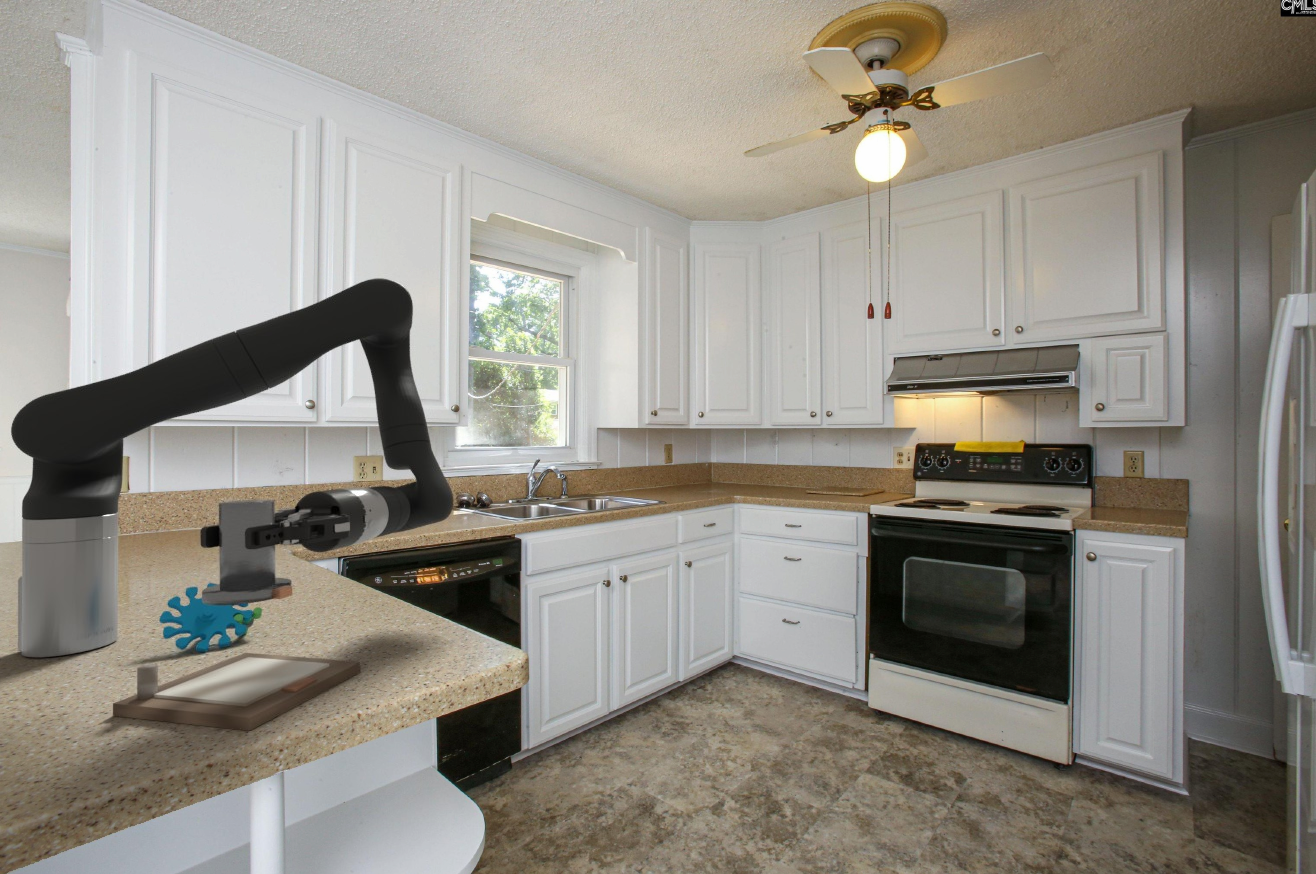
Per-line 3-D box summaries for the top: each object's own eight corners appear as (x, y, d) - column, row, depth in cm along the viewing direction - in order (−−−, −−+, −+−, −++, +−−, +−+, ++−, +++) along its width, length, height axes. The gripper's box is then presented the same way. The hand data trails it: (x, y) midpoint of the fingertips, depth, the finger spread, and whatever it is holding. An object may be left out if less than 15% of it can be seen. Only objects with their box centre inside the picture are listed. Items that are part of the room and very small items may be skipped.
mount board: (112, 715, 61) (112, 672, 61) (245, 662, 75) (245, 627, 75) (249, 730, 57) (249, 685, 57) (360, 672, 72) (360, 635, 72)
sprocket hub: (182, 603, 64) (180, 505, 64) (249, 585, 71) (248, 498, 71) (254, 607, 62) (252, 506, 62) (314, 588, 69) (313, 498, 69)
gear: (152, 648, 76) (168, 579, 82) (150, 673, 79) (165, 605, 86) (258, 644, 82) (265, 580, 89) (253, 667, 85) (260, 604, 92)
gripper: (295, 488, 82) (168, 501, 66) (391, 489, 79) (284, 502, 62) (296, 545, 82) (169, 572, 65) (392, 548, 79) (284, 577, 62)
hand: (226, 538), depth 64 cm, fingers closed on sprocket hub, 5 cm apart
